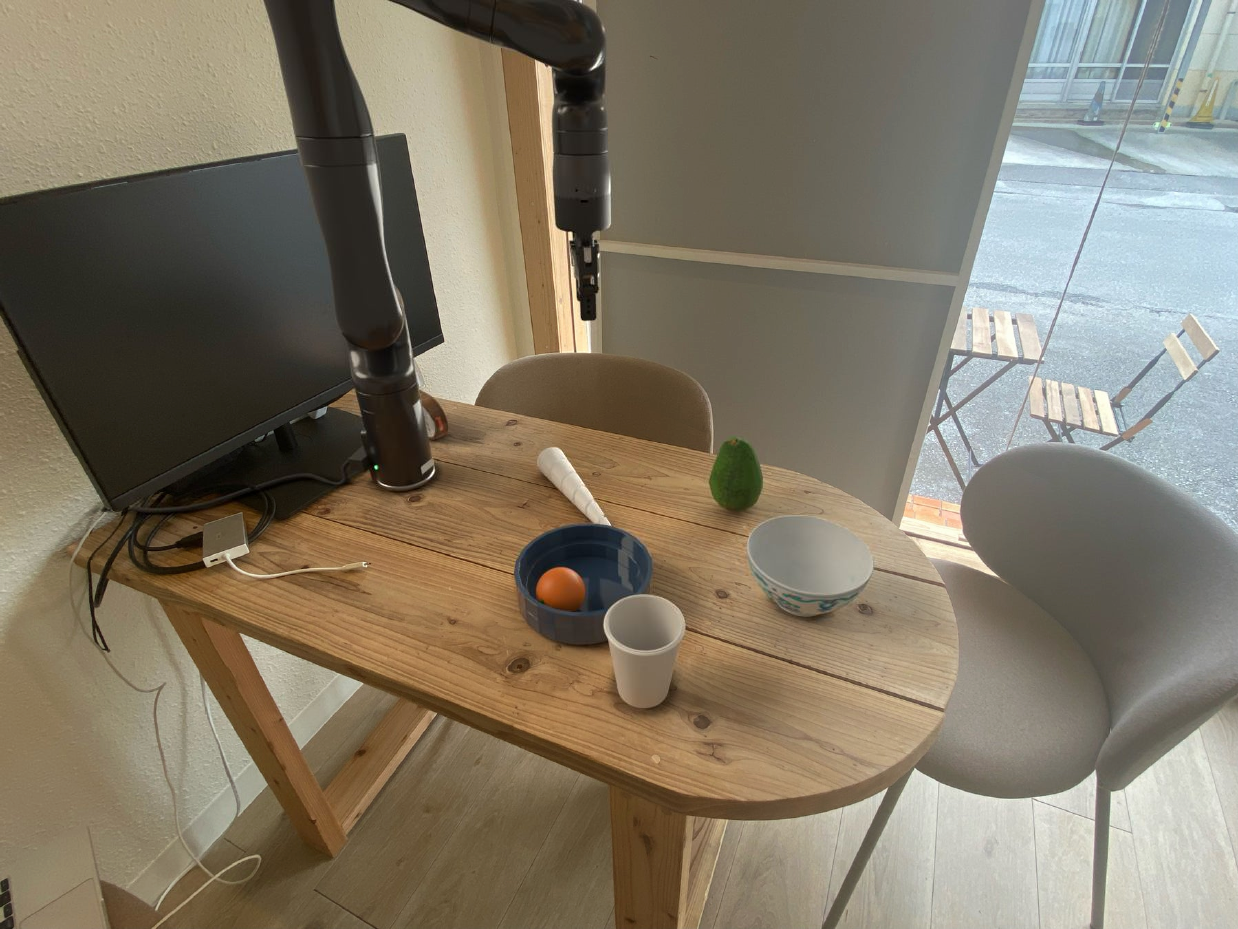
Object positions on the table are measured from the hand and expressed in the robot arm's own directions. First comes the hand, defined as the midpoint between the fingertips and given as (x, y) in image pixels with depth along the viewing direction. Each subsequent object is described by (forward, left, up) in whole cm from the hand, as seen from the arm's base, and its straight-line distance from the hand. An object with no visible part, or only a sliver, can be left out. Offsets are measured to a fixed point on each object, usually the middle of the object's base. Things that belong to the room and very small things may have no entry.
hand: (586, 310), depth 93 cm
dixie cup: (+17, -41, -28) cm, 53 cm away
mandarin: (+5, -32, -24) cm, 41 cm away
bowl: (+7, -29, -28) cm, 41 cm away
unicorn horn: (+1, -9, -28) cm, 30 cm away
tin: (-35, +7, -28) cm, 46 cm away
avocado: (+24, -5, -28) cm, 37 cm away
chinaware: (+34, -23, -28) cm, 50 cm away
